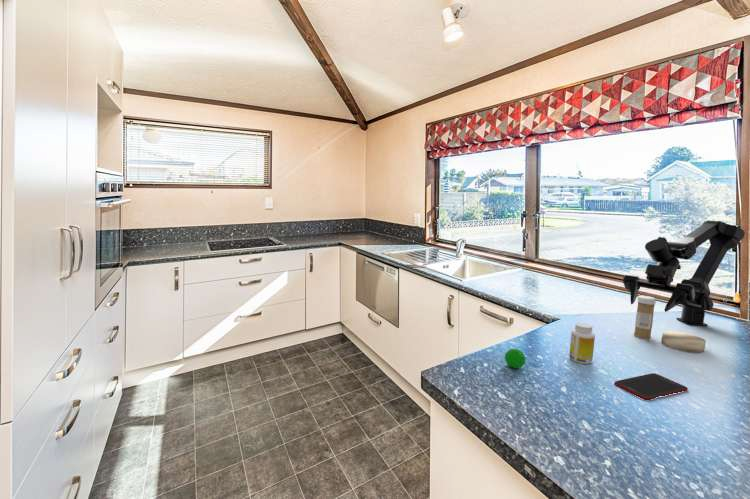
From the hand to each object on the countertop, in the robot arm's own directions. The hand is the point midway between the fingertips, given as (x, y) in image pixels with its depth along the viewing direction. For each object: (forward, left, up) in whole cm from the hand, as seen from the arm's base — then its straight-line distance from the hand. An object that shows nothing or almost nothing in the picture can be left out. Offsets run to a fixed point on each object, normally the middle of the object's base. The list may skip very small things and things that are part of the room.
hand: (647, 307), depth 114 cm
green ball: (+33, -47, -10) cm, 58 cm away
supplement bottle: (+25, -28, -10) cm, 39 cm away
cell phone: (+37, -17, -10) cm, 42 cm away
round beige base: (+8, +7, -10) cm, 14 cm away
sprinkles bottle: (+2, -1, -10) cm, 10 cm away
